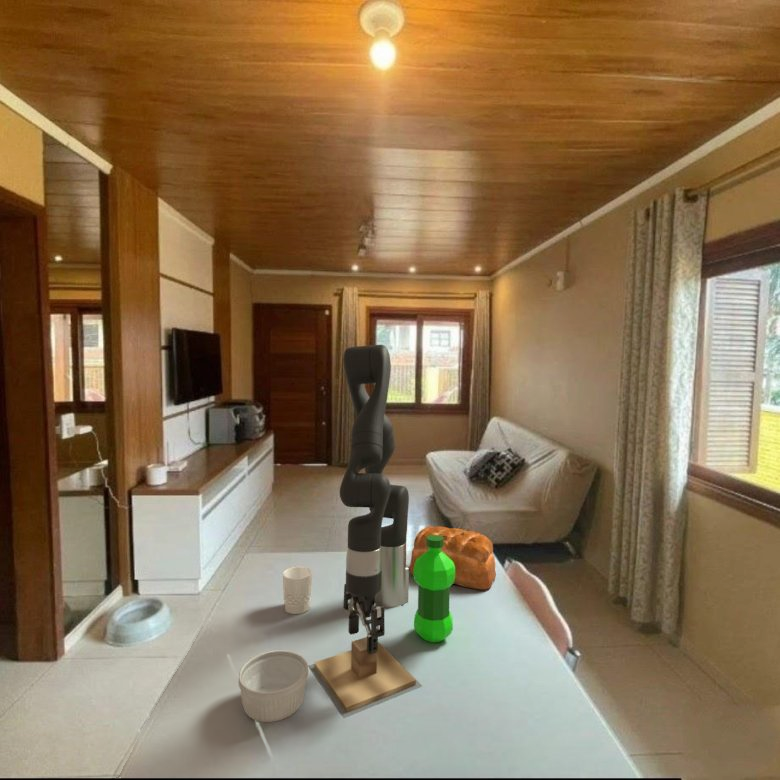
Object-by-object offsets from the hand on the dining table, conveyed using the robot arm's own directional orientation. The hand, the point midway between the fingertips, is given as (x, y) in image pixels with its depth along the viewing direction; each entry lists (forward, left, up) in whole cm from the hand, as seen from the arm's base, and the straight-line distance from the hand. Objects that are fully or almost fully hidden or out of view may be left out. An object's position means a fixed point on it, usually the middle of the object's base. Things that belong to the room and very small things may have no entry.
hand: (362, 642), depth 101 cm
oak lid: (0, 0, -7) cm, 7 cm away
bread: (-48, -30, -8) cm, 57 cm away
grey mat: (0, 0, -8) cm, 8 cm away
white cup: (+2, -35, -8) cm, 36 cm away
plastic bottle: (-22, -5, -8) cm, 24 cm away
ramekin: (+19, -2, -8) cm, 20 cm away
